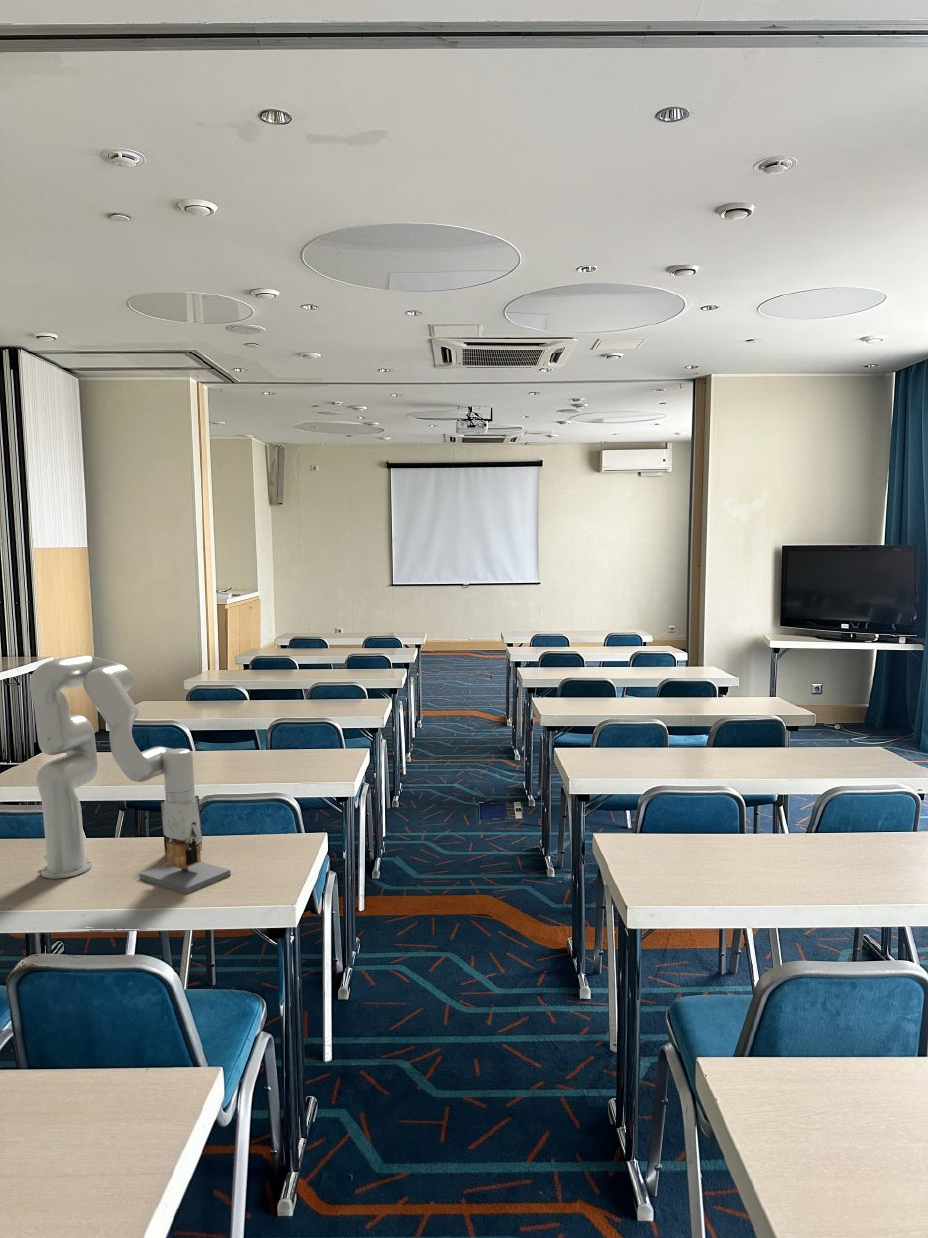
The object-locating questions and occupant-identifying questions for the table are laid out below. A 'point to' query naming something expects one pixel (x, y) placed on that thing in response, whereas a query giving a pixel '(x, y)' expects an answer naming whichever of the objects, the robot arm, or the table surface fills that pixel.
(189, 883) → the grey rectangular slab
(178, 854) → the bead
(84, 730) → the robot arm
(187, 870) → the rod
